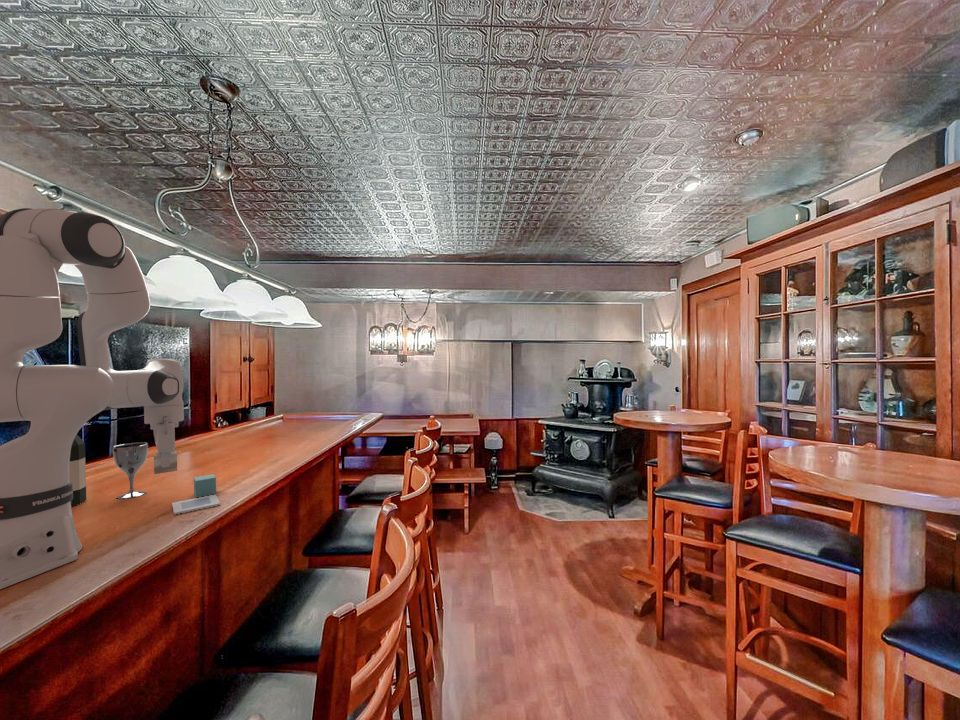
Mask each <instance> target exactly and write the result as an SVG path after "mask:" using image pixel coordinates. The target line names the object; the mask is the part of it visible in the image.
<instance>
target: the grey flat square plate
mask: <svg viewBox="0 0 960 720" xmlns="http://www.w3.org/2000/svg"><path fill="white" fill-rule="evenodd" d="M171 504H172V505H171V506H172V512H173V515H174V516H176V514H178V515H181V514H180V513H182V514H186V512H187V513H191V512H190V511H192V512H195V511H194V510H196V511H199V510H198V509H201V510H204V509H203V508H206V509H210V508H209V507H211V508H214V507H213V506H215V507H219V506H218V505H220V506H221V502H220V500H219V498H218V497H217V493H216V494H214V495H209V496H204V497H199V498H195V497H194V498H188V499H185V500H180V501H175V502H172V503H171Z"/></svg>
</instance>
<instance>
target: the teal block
mask: <svg viewBox="0 0 960 720" xmlns="http://www.w3.org/2000/svg"><path fill="white" fill-rule="evenodd" d="M193 491H194V492H193V495H194V498H195V497H201V496H207V495H212V494H216V495H217V479H216V475H215V474H214V473H212V474H207V475H201V476H194V477H193Z"/></svg>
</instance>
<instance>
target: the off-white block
mask: <svg viewBox="0 0 960 720" xmlns="http://www.w3.org/2000/svg"><path fill="white" fill-rule="evenodd" d="M153 472H154V473H153V474H154V475H158V474H159V475H160V474H164V473H165V474H167V473H170V472H178V452H177V451H176V450H174V451H172V452H171V455H170V466H169V467H164V468H163V467H162V465H161V453H158V452H157V453H153Z"/></svg>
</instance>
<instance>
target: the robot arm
mask: <svg viewBox="0 0 960 720" xmlns="http://www.w3.org/2000/svg"><path fill="white" fill-rule="evenodd" d="M63 265H72V266H73V265H74V267H75V268H76V269H77V270H78V271H79V272H80V274H81V276H82V281H83V285H84V289H85V292H86V296H87V304H86V305H87V306H86V309H85V310H84V311H83V312H81V313H80V314H79V316H78V318H77V319H78V320H77V328H76V329H77V342H78V351H79V358H80V359H79V360H80V365H79V364H78V365H77V364H51V365H49V364H48V365H47V364H46V365H45V364H44V365H43V364H42V365H41V364H40V365H35V364H34V365H28V364H24V362H23V360H24V359H23V358H24V356H25V354H26V353H27V352H30V351H33V350H35V349H39V348H42V347H44V346H46V345H49V344H51V343H53V342H55V341H56V340H57V339H59V338H60V337H61V334H62V332H63V321H62V318H63V317H62V307H61V305H62V304H61V293H60V285H59V279H58V276H59V275H58V274H59V271H60V269H61V267H63ZM149 294H150V293H149V291H148V286H147V283H146V280H145V278H144V274H143V271H142V268H141V267H140V264H139V262H138V260H137V258H136V256H135V254H134V252H133V251H132V250H131V249H130V247H128V246H127V245H126V242H125V239H124V236H123V234H122V232H121V231H120V229H119V228H118V227H117V225H116V224H115V223H114V222H113V221H111V220H110V219H108V218H106V217H105V216H101V215H99V214H95V213H92V212H86V211H80V212H77V211H73V210H64V209H61V208H50V207H49V208H28V207H26V208H17V209H13V210H10V211H6V212H4V214H2V215H1V216H0V423H6V422H7V423H9V422H19V421H20V422H21V421H26V422H28V421H29V422H30V426H29V427H30V428H29V430H28V432H27V433H26V434H24V435H22V436H19V437H17V438H14V439H12V440H9V441H8V442H6V443H3V444H2V445H0V590H2V589H4V588H7V587H9V586H12V585H15V584H18V583H19V582H22V581H25V580H28V579H30V578H32V577H35V576H38V575H40V574H43V573H45V572H48V571H51V570H53V569H56V568H58V567H61V566H64V565H66V564H68V563H71V562H74V561H76V560H77V559H78V558H79V554H78V553H79V552H80V551H81V550H82V549H83V545H82V542H81V540H80V539H79V535H78V531H77V530H76V526H75V522H74V516H73V511H72V506H71V502H72V499H73V487H72V482H70V481H69V464H70V453H71V447H72V443H73V441H74V438H75V436H76V435H78V433H79V431H80V430H81V429H82V428H83V426H84V425H85V424H86V423H87V422H88V421H90V420H91V419H92V418H93V417H94V416H96V415H97V414H99V413H101V412H102V411H109V410H115V409H121V408H122V409H123V408H124V409H125V408H139V407H143V410H144V411H143V416H144V417H143V418H144V419H143V420H144V424H145V425H150V427H149V428H150V430H153V437H154V443H155V445H156V446H155V447H156V450H157V453H161V465H162V467H163V468H164V467H169V466H170V455H171V452H172V451H176V450H175V449H176V437H175V436H176V432H175V431H176V430H175V428H178V427H179V425H180V424H179V423H180V422H183V421H185V409H184V405H185V404H184V403H185V402H184V400H183V392H184V376H183V369H182V366H181V363H180V362H179V361H178V360H176V359H173V358H172V359H171V358H166V357H165V358H164V357H159V358H157V357H155V358H151V359H148V360H147V361H146V365H145V366H144V368H141V369H137V370H135V369H134V370H115V369H114V368H113V369H112V368H111V365H110V358H109V357H110V354H109V345H108V340H109V337H110V335H111V334H112V333H113V332H116V331H118V330H121V329H124V328H127V327H129V326H132V325H134V324H136V323H138V322H139V321H141V320H142V319H144V318H145V317H146V315H148V313H149V311H150V309H151V299H150V295H149Z"/></svg>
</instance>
